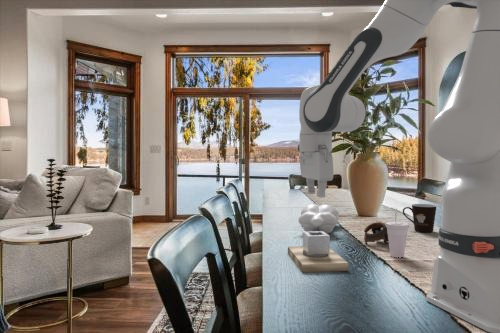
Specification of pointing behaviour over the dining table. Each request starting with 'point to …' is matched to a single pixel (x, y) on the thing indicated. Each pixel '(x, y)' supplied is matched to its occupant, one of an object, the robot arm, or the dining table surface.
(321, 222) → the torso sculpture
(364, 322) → the dining table surface
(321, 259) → the post block
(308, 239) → the grey hollow square block
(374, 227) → the brown hollow curved piece
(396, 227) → the smoothie
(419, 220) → the coffee mug
